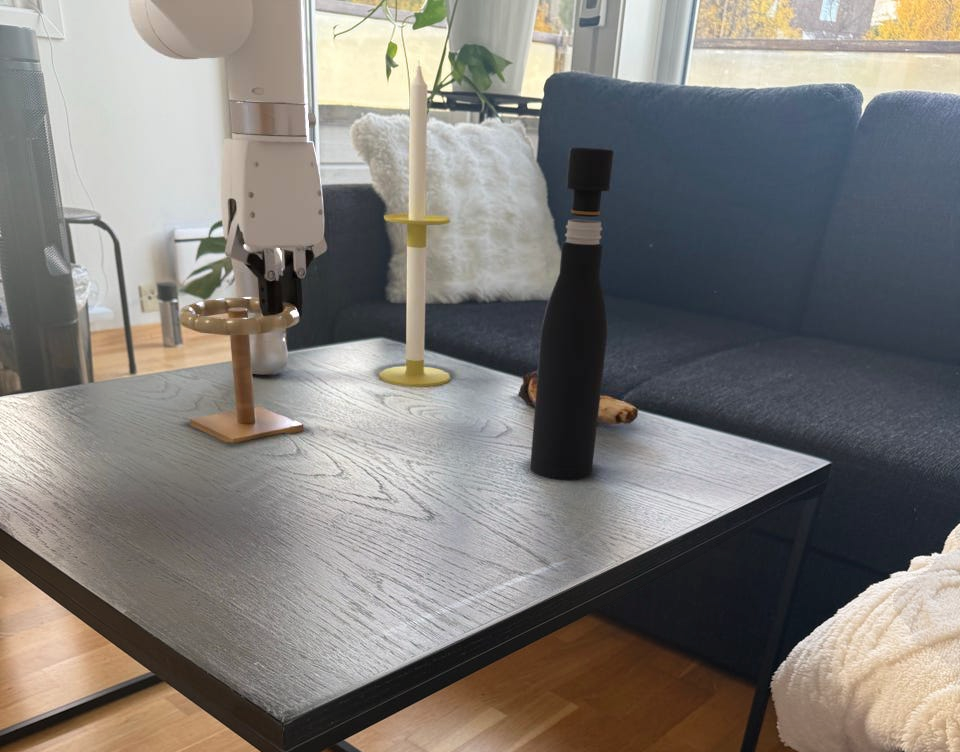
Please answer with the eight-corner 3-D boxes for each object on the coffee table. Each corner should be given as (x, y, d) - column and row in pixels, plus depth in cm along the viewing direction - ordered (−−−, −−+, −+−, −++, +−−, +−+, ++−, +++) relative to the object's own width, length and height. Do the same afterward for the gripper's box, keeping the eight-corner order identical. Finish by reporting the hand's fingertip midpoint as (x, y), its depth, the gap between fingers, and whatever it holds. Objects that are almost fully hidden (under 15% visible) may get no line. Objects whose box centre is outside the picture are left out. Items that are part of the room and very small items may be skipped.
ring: (220, 342, 90) (218, 325, 89) (159, 321, 97) (157, 305, 97) (322, 325, 97) (321, 309, 97) (258, 306, 105) (257, 292, 104)
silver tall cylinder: (241, 367, 128) (229, 210, 118) (291, 368, 129) (282, 212, 119) (236, 379, 123) (222, 215, 113) (287, 380, 123) (278, 217, 113)
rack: (233, 449, 98) (222, 320, 91) (190, 429, 103) (176, 306, 96) (304, 434, 103) (298, 312, 97) (259, 416, 109) (250, 298, 102)
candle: (462, 375, 130) (474, 64, 112) (429, 390, 122) (436, 58, 104) (401, 365, 134) (403, 62, 115) (365, 379, 126) (360, 56, 107)
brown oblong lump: (487, 412, 116) (601, 443, 105) (488, 374, 114) (604, 403, 103) (535, 397, 122) (648, 426, 111) (537, 361, 120) (652, 387, 109)
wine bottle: (520, 477, 94) (544, 146, 79) (543, 460, 99) (570, 146, 85) (579, 489, 92) (615, 151, 77) (599, 470, 97) (637, 150, 82)
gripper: (312, 124, 99) (320, 304, 108) (178, 120, 89) (199, 318, 98) (356, 127, 94) (360, 315, 103) (219, 123, 84) (237, 331, 93)
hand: (281, 315), depth 100 cm, fingers closed on ring, 1 cm apart
